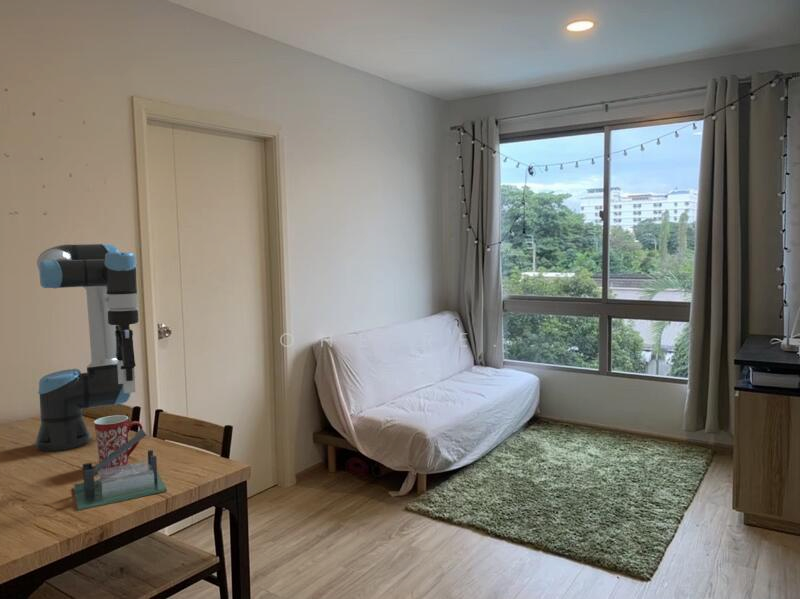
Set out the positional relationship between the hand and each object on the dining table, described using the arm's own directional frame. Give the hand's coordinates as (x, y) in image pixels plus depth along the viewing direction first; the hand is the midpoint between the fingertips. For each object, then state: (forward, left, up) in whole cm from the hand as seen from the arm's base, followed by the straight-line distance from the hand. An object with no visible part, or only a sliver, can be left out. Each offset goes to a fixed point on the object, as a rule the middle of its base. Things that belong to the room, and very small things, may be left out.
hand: (126, 387), depth 163 cm
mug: (-10, -1, -24) cm, 26 cm away
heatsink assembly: (+11, -4, -24) cm, 27 cm away
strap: (+11, -4, -15) cm, 19 cm away
